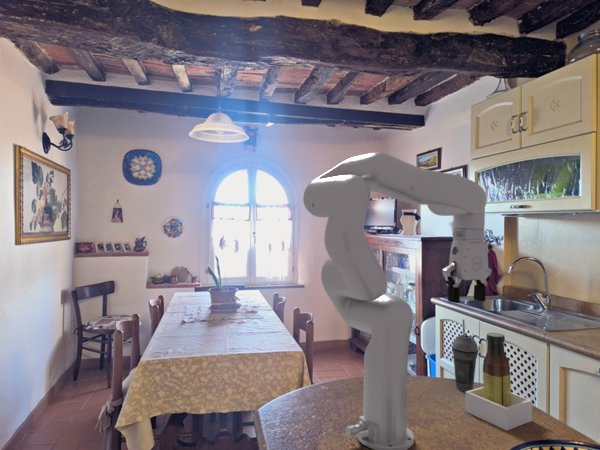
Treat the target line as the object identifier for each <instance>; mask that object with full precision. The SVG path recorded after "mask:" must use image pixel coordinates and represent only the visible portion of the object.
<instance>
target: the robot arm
mask: <svg viewBox="0 0 600 450" xmlns="http://www.w3.org/2000/svg"><path fill="white" fill-rule="evenodd" d="M371 192H374V193H375V192H376V193H379V194H381V195H384V196H388V197H390V198H393V199H395V200H399V201H401V202H404V203H408V204H413V205H420V206H421V205H427V208H428V210H429V211H430V212H431V213H432V214H435V215H436V216H441V217H442V216H443V217H447V216H453V232H452V240H453V241H451V246H450V252H449V260H448V264H449V265H447V266H445V267H444V268H443V269H441V272H442V276H443V279H444V281H445V283H446V286H447V287H448V288H447V289H448V292H447V295H448V296H447V300H448V301H447V302H450V303H454V304H460V301H461V300H460V297H461V294H460V293H461V288H460V287H459V285H460V284H461V282H462V280H464V281H473V282H474V283H475V284H474V285H473V300H475V301H479V302H486V298H487V297H486V293H487V290H486V289H487V287H488V282H489V280H490V279H491V278H490V276H491V273H492V271H493V270H492V269H491V268H490V267H489V257H488V248H487V244H486V243H487V242H485V221H486V220H485V219H486V218H485V217H486V215H485V213H486V205H487V201H488V200H487V199H488V197H487V193H486V191H485V190H484V188H483V187H482V186H481V185H480V184H478V183H477V182H475V181H473V180H471V179H469V178H467V177H465V176H464V177H463V176H461V175H457V174H452V173H447V172H440V171H436V170H431V169H425V168H421V167H419V166H415V165H414V164H411V163H408V162H406V161H405V160H402V159H400V158H397V157H395V156H392V155H391V154H389V153H385V152H382V151H381V152H380V151H379V152H378V151H377V152H370V153H366V154H361V155H356V156H352V157H350V158H348V159H346V160H344V161H342V162H340V163H339V164H337V165H336V166H334V167H333V168H331V169H329V170H328V171H326V172H324V173H323V174H322V175H321V174H320V175H319V176H317V177H316V178H315V179H313V180H312V181H310V182H309V183H308V184H307V186H306V188H305V189H304V191H303V198H302V199H303V201H302V202H303V205H304V207H305V209H306V211H307V212H308V213H309V214H311V215H312V216H314V217H318V218H327V221H326V222H327V223H326V226H325V231H324V239H323V240H324V242H323V243H324V247H325V250H326V252H327V255H328V257H329V258H327V259H326V260H325V261H324V263H323V264H322V268H321V273H320V277H321V284H322V287H323V289H324V291H325V292H326V295H327V296H328V297H329V299H330V300H331V302H332V304H333V305H334V307H335V309H336V310H337V312H338V314H339V315H340V316H341V319H342V320H343V321H344V322H345V323H346V324H347V325H348V326H350V327H351V328H352V329H355V330H358V331H361V332H363V333H367V334H369V335H371V338H370V341H369V342H368V344H367V346H366V348H365V351H364V355H363V403H362V411H363V413H362V415H361V416H359V417H358V419H359V420H358V422H356V423H355V424H352V425H348V426H346V427H345V429H344V432H345V434H346V436H347V437H353V436H355V437H356V439H357V440H358V441H359V442H360V443H361V444H362V445H363V446H365V447H367V448H370V449H372V450H408V449H410V448H411V447H412V446H413V445H414V444H415V435H414V433H413V431H412V430H411V429H410V428H409V427H408V422H407V421H408V366H409V363H408V362H409V345H410V340H411V335H412V330H413V326H414V325H413V324H414V312H413V309H412V307H411V306H410V304H409V303H408V301H406V300H405V299H403V298H401V297H399V296H397V295H393V294H388V293H386V292H387V288H388V281H387V276H386V272H385V271H384V269H383V267H382V265H381V264H380V261H379V260H378V259H377V256H376V254H375V252H374V251H373V249H372V247H371V245H370V244H369V241H368V239H367V236H366V234H365V229H364V227H365V225H364V224H365V221H366V219H365V218H366V216H367V213H368V212H367V211H368V208H369V206H370V202H371Z"/></svg>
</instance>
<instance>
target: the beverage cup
mask: <svg viewBox="0 0 600 450" xmlns="http://www.w3.org/2000/svg"><path fill="white" fill-rule="evenodd" d="M465 326H466V325H465V319H462V334H461V335H459V336H457V337H455V338H454V340H453V341H452V346H451V349H452V355H453V365H454V378H455V379H454V380H455V386H456V387H455V388H456V389H457V390H458V391H462V392H466V391H470V390H473V389H474V384H475V374H476V364H477V363H476V362H477V358H478V353H479V349H478V344H477V341H476V340H475V339H474V338H473V337H472V336H470V335H467V334H466V327H465Z"/></svg>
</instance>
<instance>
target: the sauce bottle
mask: <svg viewBox="0 0 600 450" xmlns="http://www.w3.org/2000/svg"><path fill="white" fill-rule="evenodd" d="M486 340H487V351H486V354H485V356H484V358H483V364H482V382H483V386H482V387H483V393H484V399H487V400H489V401H492V402H494V403H497V404H499V405H501V406H504V407H509V406H511V393H512V390H511V389H512V388H511V386H512V385H511V371H510V368H511V366H510V360H509V358H508V357H507V355H506V353H505V343H504V342H505V340H506V339H505V334H503V333H500V332H499V333H498V332H487V333H486Z"/></svg>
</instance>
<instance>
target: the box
mask: <svg viewBox="0 0 600 450" xmlns="http://www.w3.org/2000/svg"><path fill="white" fill-rule="evenodd" d="M464 392H465V391H464ZM464 400H465V401H464V402H465V403H464V405H465V408H464V411H465V412H466V413H468V414H470V415H472V416H475V417H476V418H479V419H481V420H483V421H485V422H487V423H489V424H492V425H494V426H496V427H498V428H500V429H502V430H505V431H509V430H513V429H515V428H517V427H519V426H523V425H525V424H527V423H530V422H532V421H533V400H532V399H529V398H528V397H525V396H521V395H519V394H517V393H513V392H511V406H509V407H504V406H501V405H499V404H497V403H494V402H492V401H489V400H487V399H484V393H483V386H480V387H477V388H475V389H474V388H473V390H470V391H466V392H465V399H464Z"/></svg>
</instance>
